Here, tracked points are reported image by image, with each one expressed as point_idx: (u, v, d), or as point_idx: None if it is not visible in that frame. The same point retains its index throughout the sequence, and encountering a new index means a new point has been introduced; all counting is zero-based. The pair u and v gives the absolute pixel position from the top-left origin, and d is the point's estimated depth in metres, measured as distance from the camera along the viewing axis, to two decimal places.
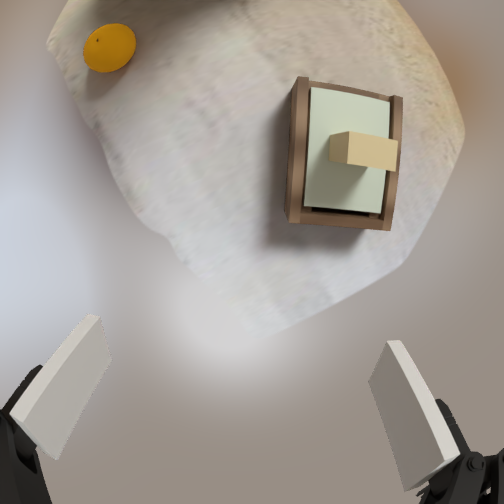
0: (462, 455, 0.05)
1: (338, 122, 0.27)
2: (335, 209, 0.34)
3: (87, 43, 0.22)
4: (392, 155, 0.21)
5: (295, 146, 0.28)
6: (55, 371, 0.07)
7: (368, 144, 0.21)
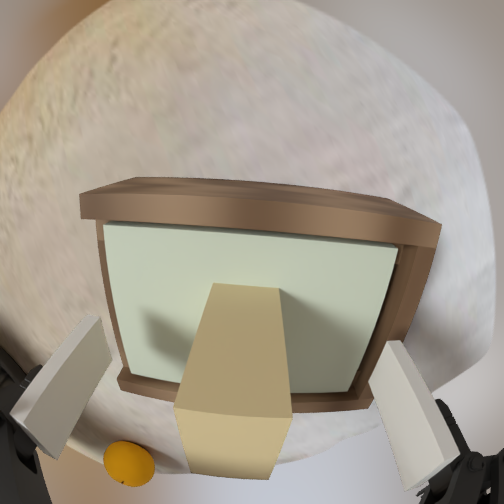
0: (462, 455, 0.05)
1: (183, 345, 0.14)
2: None
3: (125, 484, 0.24)
4: (234, 424, 0.06)
5: None
6: (55, 371, 0.07)
7: (213, 458, 0.07)
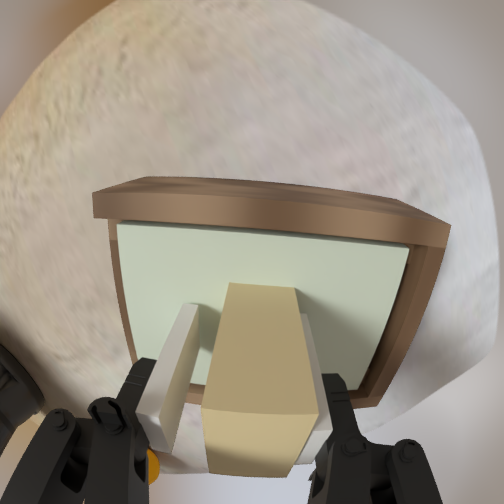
0: None
1: None
2: None
3: None
4: (261, 423, 0.06)
5: None
6: (176, 359, 0.09)
7: (235, 458, 0.07)
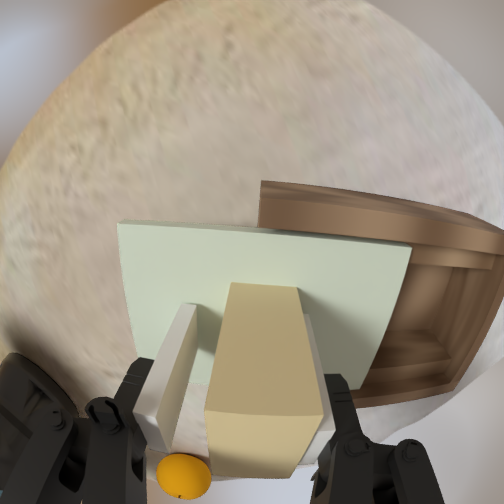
0: None
1: (198, 345, 0.14)
2: (453, 299, 0.16)
3: (180, 498, 0.24)
4: (265, 424, 0.06)
5: (364, 406, 0.15)
6: (173, 359, 0.09)
7: (238, 459, 0.07)
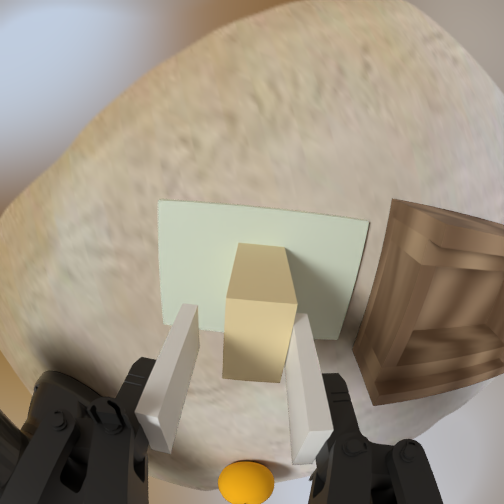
0: None
1: (211, 294, 0.19)
2: None
3: None
4: (262, 310, 0.11)
5: (454, 388, 0.15)
6: (175, 359, 0.09)
7: (243, 353, 0.12)
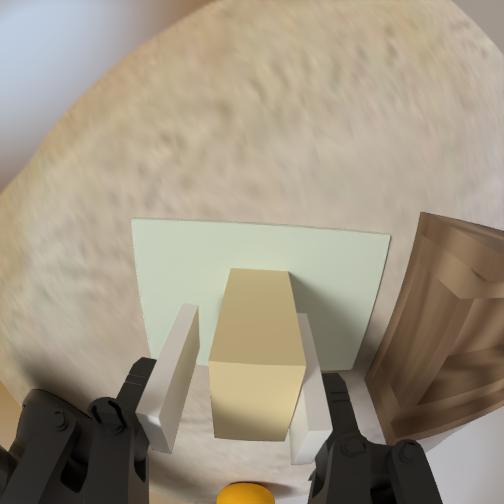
0: None
1: (202, 327, 0.16)
2: None
3: None
4: (258, 374, 0.08)
5: (472, 419, 0.12)
6: (176, 359, 0.09)
7: (237, 417, 0.09)
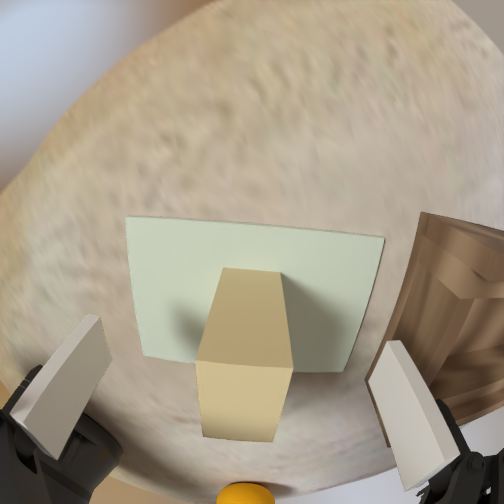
0: (462, 455, 0.05)
1: (194, 326, 0.16)
2: None
3: None
4: (245, 375, 0.08)
5: (472, 419, 0.12)
6: (55, 371, 0.07)
7: (225, 416, 0.09)
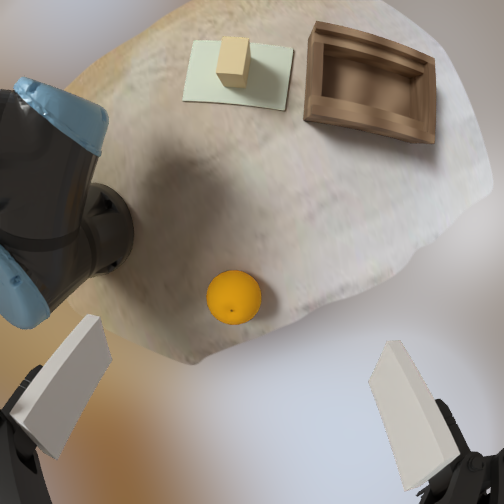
0: (462, 455, 0.05)
1: (213, 79, 0.31)
2: (414, 99, 0.28)
3: (230, 321, 0.36)
4: (235, 40, 0.23)
5: (378, 126, 0.27)
6: (55, 371, 0.07)
7: (226, 58, 0.24)
